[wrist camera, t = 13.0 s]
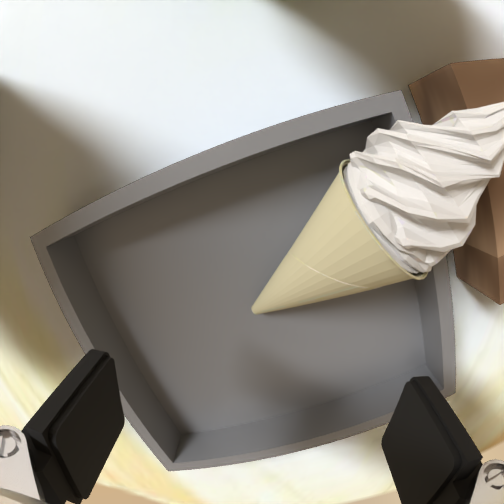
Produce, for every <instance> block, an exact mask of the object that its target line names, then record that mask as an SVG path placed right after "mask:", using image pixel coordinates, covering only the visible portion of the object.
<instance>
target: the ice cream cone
mask: <svg viewBox="0 0 504 504" xmlns="http://www.w3.org/2000/svg"><path fill="white" fill-rule="evenodd" d="M503 162H504V102H501V103H496V104H492V105H488V106H484V107H479V108H474V109H466V110H459V111H451V112H450V113H448V114H447V115H446V116H444V117H443V118H441V119H440V120H439V121H437V122H436V123H435V124H433V125H423V124H418V123H413V122H407V121H401V120H397V121H396V123H395V124H394V125H393V126H392V128H391V129H390V130H385V129H379V128H377V129H376V130H375V131H374V132H373V133H371V134H370V135H369V136H368V137H367V141H366V148H365V150H364V151H363V152H358V151H354V152H352V153H350V160H344V161H342V162H341V164H340V166H339V173H338V175H337V176H336V178H335V180H334V181H333V183H332V184H331V186H330V188H329V189H328V191H327V192H326V194H325V195H324V197H323V199H322V200H321V202H320V203H319V205H318V207H317V208H316V210H315V211H314V213H313V214H312V216H311V218H310V219H309V221H308V222H307V224H306V225H305V227H304V228H303V230H302V232H301V233H300V235H299V236H298V238H297V239H296V241H295V242H294V244H293V246H292V247H291V249H290V250H289V252H288V253H287V255H286V256H285V257H284V259H283V260H282V262H281V263H280V265H279V266H278V268H277V269H276V271H275V272H274V274H273V275H272V277H271V279H270V280H269V282H268V283H267V285H266V286H265V288H264V289H263V291H262V292H261V294H260V295H259V297H258V298H257V300H256V301H255V303H254V304H253V306H252V308H251V309H252V312H253V313H254V314H262V313H267V312H272V311H277V310H282V309H287V308H292V307H297V306H302V305H306V304H311V303H316V302H320V301H325V300H329V299H333V298H338V297H342V296H347V295H351V294H355V293H359V292H363V291H367V290H372V289H376V288H380V287H382V286H386V285H390V284H394V283H398V282H401V281H405V280H409V279H417V280H421V279H424V278H425V277H426V276H427V274H428V272H430V271H431V269H432V266H433V265H435V264H437V263H438V262H439V261H440V260H441V259H442V258H443V257H444V256H446V255H447V254H448V253H449V252H450V251H451V250H452V249H455V248H458V247H461V246H463V245H464V243H465V241H466V240H467V238H468V236H469V235H470V233H471V231H472V229H473V228H474V226H475V222H476V205H477V203H478V200H479V198H480V196H481V194H482V193H483V191H484V189H485V188H486V186H487V184H488V182H489V180H490V179H491V178H495V177H500V174H501V170H502V166H503Z"/></svg>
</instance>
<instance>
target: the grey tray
mask: <svg viewBox="0 0 504 504" xmlns="http://www.w3.org/2000/svg"><path fill="white" fill-rule="evenodd" d="M397 120H401V121H407V122H413V121H412V118H411V115H410V112H409V109H408V107H407V104H406V101H405V99H404V96H403V93H402V91H401V90H398V91H394V92H390V93H385V94H381V95H377V96H373V97H369V98H365V99H361V100H357V101H353V102H349V103H346V104H342V105H338V106H335V107H331V108H328V109H324V110H321V111H317V112H314V113H311V114H308V115H304V116H301V117H298V118H295V119H292V120H289V121H285V122H282V123H279V124H276V125H273V126H270V127H268V128H265V129H262V130H259V131H256V132H253V133H250V134H248V135H245V136H242V137H240V138H237V139H234V140H231V141H229V142H226V143H224V144H221V145H218V146H216V147H213V148H211V149H208V150H206V151H203V152H201V153H198V154H196V155H193V156H191V157H189V158H186V159H184V160H182V161H179V162H177V163H175V164H172V165H170V166H168V167H165V168H163V169H161V170H159V171H156V172H154V173H152V174H150V175H148V176H145V177H143V178H141V179H139V180H137V181H135V182H133V183H131V184H128V185H126V186H124V187H122V188H120V189H118V190H116V191H114V192H112V193H110V194H108V195H106V196H104V197H102V198H100V199H98V200H96V201H94V202H92V203H90V204H89V205H87V206H85V207H83V208H81V209H79V210H77V211H75V212H74V213H72V214H70V215H68V216H66V217H64V218H63V219H61V220H59V221H57V222H56V223H54V224H52V225H50V226H49V227H47V228H45V229H43V230H42V231H40V232H38V233H37V234H35V235H33V236H32V237H30V238H31V241H32V244H33V246H34V249H35V251H36V254H37V256H38V259H39V261H40V264H41V266H42V269H43V271H44V273H45V276H46V278H47V280H48V282H49V285H50V287H51V289H52V291H53V293H54V295H55V298H56V300H57V302H58V304H59V306H60V308H61V310H62V312H63V314H64V316H65V318H66V320H67V322H68V324H69V326H70V328H71V329H72V331H73V333H74V335H75V337H76V339H77V341H78V342H79V344H80V346H81V348H82V349H83V351H84V353H85V355H86V354H87V353H88V351H89V350H91V349H95V350H100V351H104V352H108V353H109V355H110V357H111V358H113V359H114V361H115V368H116V374H117V380H118V386H119V392H120V398H121V403H122V408H123V413H124V415H125V417H126V418H127V420H128V421H129V422H130V424H131V425H132V426H133V428H134V429H135V430H136V432H137V433H138V434H139V436H140V437H141V438H142V440H143V441H144V442H145V443H146V445H147V446H148V447H149V449H150V450H151V451H152V452H153V453H154V455H155V456H156V457H157V458H158V460H159V461H160V462H161V463H162V464H163V466H164V467H165V468H166V469H167V470H168V471H179V470H191V469H201V468H210V467H217V466H225V465H232V464H238V463H244V462H250V461H255V460H261V459H266V458H271V457H276V456H280V455H285V454H289V453H293V452H297V451H301V450H305V449H309V448H313V447H317V446H320V445H324V444H327V443H331V442H334V441H337V440H341V439H344V438H347V437H350V436H353V435H356V434H359V433H362V432H365V431H368V430H371V429H373V428H376V427H379V426H382V425H384V424H387V423H389V422H390V420H391V418H392V415H393V413H394V411H395V408H396V406H397V403H398V401H399V398H400V396H401V393H402V391H403V388H404V386H405V384H406V382H408V381H410V379H411V378H412V377H418V376H429V377H430V378H431V379H432V381H433V382H434V384H435V385H436V386H437V388H438V389H439V391H440V392H441V394H442V395H443V397H444V398H446V397H448V396H450V395H452V394H454V393H455V387H456V362H455V334H454V318H453V306H452V296H451V287H450V279H449V271H448V264H447V258H446V256H444V257H443V258H442V259H441V260H440V261H439V262H438V263H437V264H435V265H433V266H432V269H431V271H430V272H428V274H427V276H426V277H425V278H424V279H421V280H417V279H409V280H405V281H401V282H398V283H394V284H390V285H386V286H382V287H380V288H376V289H372V290H367V291H363V292H359V293H355V294H351V295H347V296H342V297H338V298H333V299H329V300H325V301H320V302H316V303H311V304H306V305H302V306H297V307H292V308H287V309H282V310H277V311H272V312H267V313H262V314H254V313H253V312H252V309H251V308H252V306H253V304H254V303H255V301H256V300H257V298H258V297H259V295H260V294H261V292H262V291H263V289H264V288H265V286H266V285H267V283H268V282H269V280H270V279H271V277H272V275H273V274H274V272H275V271H276V269H277V268H278V266H279V265H280V263H281V262H282V260H283V259H284V257H285V256H286V255H287V253H288V252H289V250H290V249H291V247H292V246H293V244H294V242H295V241H296V239H297V238H298V236H299V235H300V233H301V232H302V230H303V228H304V227H305V225H306V224H307V222H308V221H309V219H310V218H311V216H312V214H313V213H314V211H315V210H316V208H317V207H318V205H319V203H320V202H321V200H322V199H323V197H324V195H325V194H326V192H327V191H328V189H329V188H330V186H331V184H332V183H333V181H334V180H335V178H336V176H337V175H338V173H339V166H340V164H341V162H342V161H344V160H350V153H352V152H354V151H358V152H363V151H364V150H365V148H366V141H367V137H368V136H369V135H370V134H371V133H373V132H374V131H375V130H376V129H377V128H379V129H385V130H390V129H391V128H392V126H393V125H394V124H395V123H396V121H397Z"/></svg>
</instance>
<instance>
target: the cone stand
mask: <svg viewBox="0 0 504 504" xmlns="http://www.w3.org/2000/svg"><path fill="white" fill-rule="evenodd" d="M409 88H410V90H411V93H412V96H413V98H414V101H415V104H416V106H417V109H418V112H419V115H420V118H421V120H422V123H423V125H433V124H435V123H436V122H437V121H439V120H440V119H441V118H443V117H444V116H446V115H447V114H448V113H450V112H451V111H459V110H466V109H474V108H479V107H484V106H488V105H492V104H496V103H501V102H504V58H502V59H488V60H476V61H466V62H458V63H450V64H448V65H446V66H444V67H442V68H440V69H438V70H436V71H435V72H433V73H431V74H429V75H427V76H425V77H423V78H421V79H419V80H417V81H416V82H414V83H412V84H410V85H409ZM453 252H454V258H455V266H456V273H457V277H458V278H460V279H461V280H463V281H464V282H466V283H468V284H469V285H471V286H472V287H474V288H475V289H477V290H478V291H480V292H481V293H483V294H484V295H486V296H487V297H489V298H490V299H492V300H493V301H495V302H496V303H498V304H499V305H501V304H503V303H504V162H503V166H502V170H501V174H500V177H495V178H491V179H490V180H489V182H488V184H487V186H486V188H485V189H484V191H483V193H482V194H481V196H480V198H479V200H478V203H477V205H476V222H475V226H474V228H473V229H472V231H471V233H470V235H469V236H468V238H467V240H466V241H465V243H464V245H463V246H461V247H458V248H455V249H453Z"/></svg>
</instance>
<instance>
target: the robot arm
mask: <svg viewBox="0 0 504 504" xmlns="http://www.w3.org/2000/svg"><path fill="white" fill-rule="evenodd" d="M123 426H124V413H123V408H122V403H121V398H120V392H119V386H118V380H117V374H116V368H115V361H114V359H113V358H111V357H110V355H109V353H108V352H104V351H100V350H95V349H91V350H89V351H88V353H87V354H86V355H85V356H84V357H83V358H82V359H81V360H80V362H79V363H78V364H77V365H76V366H75V367H74V368H73V370H72V371H71V372H70V373H69V374H68V375H67V377H66V378H65V379H64V380H63V381H62V382H61V383H60V385H59V386H58V387H57V388H56V389H55V391H54V392H53V393H52V394H51V395H50V396H49V398H48V399H47V400H46V401H45V402H44V404H43V405H42V406H41V407H40V408H39V410H38V411H37V412H36V413H35V414H34V416H33V417H32V418H31V419H30V421H29V422H28V423H27V424H26V426H25V427H24V428H23V430H22V431H20V430H19V429H17V428H16V427H13V426H9V425H2V426H0V504H65V502H66V500H67V501H70V502H72V503H75V504H80V503H81V501H82V499H87V498H88V497H89V495H90V493H91V491H92V489H93V487H94V485H95V483H96V481H97V479H98V477H99V475H100V473H101V471H102V469H103V467H104V465H105V463H106V460H107V458H108V456H109V454H110V452H111V450H112V448H113V446H114V444H115V442H116V440H117V438H118V437H119V435H120V433H121V431H122V429H123ZM382 449H383V451H384V454H385V457H386V460H387V463H388V465H389V468H390V471H391V474H392V477H393V480H394V483H395V486H396V488H397V491H398V494H399V497H400V500H401V503H402V504H504V461H502V460H489V461H487V462H485V463H484V464H482V463H481V459H482V458H483V457H482V455H481V453H480V452H479V450H478V449H477V447H476V445H475V444H474V442H473V441H472V439H471V437H470V436H469V434H468V433H467V431H466V430H465V428H464V427H463V425H462V423H461V422H460V420H459V419H458V417H457V416H456V414H455V413H454V411H453V410H452V408H451V407H450V405H449V404H448V402H447V401H446V399H445V398H444V397H443V395H442V394H441V392H440V391H439V389H438V388H437V386H436V385H435V384H434V382H433V381H432V379H431V378H430V377H429V376H418V377H412V378H411V379H410V381H408V382H406V384H405V386H404V388H403V391H402V393H401V396H400V398H399V401H398V403H397V406H396V408H395V411H394V413H393V415H392V418H391V420H390V422H389V424H388V427H387V429H386V431H385V433H384V435H383V438H382Z"/></svg>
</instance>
